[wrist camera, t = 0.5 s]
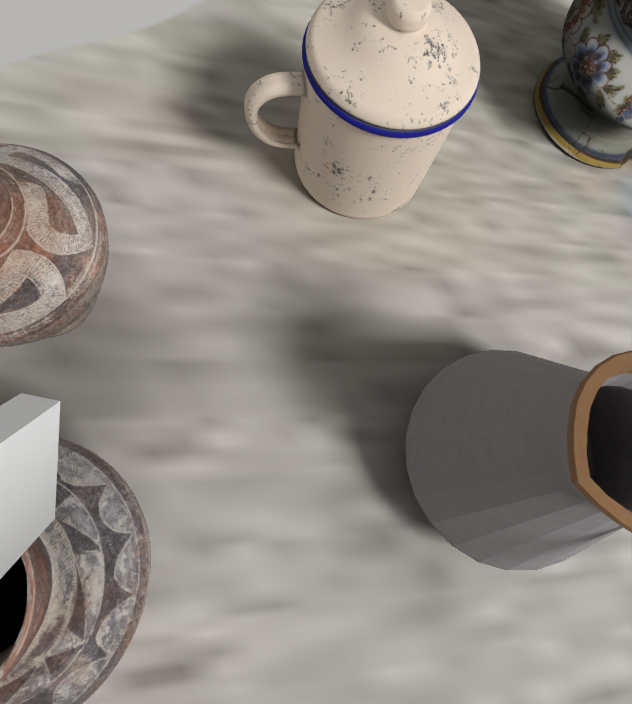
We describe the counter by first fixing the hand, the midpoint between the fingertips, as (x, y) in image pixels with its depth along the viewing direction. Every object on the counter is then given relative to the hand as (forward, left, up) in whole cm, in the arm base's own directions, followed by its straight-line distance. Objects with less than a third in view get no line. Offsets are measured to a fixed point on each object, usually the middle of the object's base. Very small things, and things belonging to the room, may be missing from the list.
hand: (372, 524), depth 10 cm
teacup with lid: (+21, +2, -18) cm, 28 cm away
